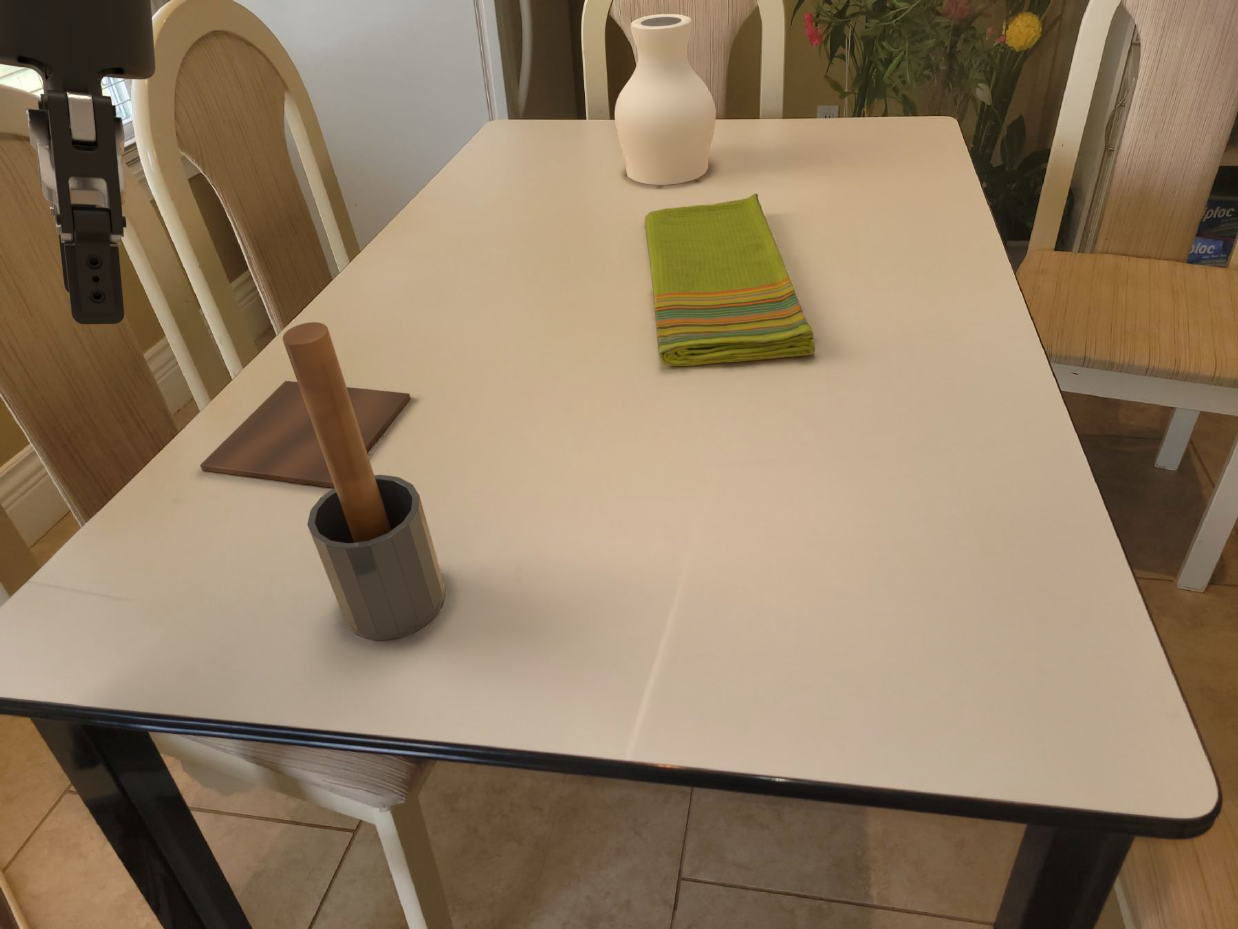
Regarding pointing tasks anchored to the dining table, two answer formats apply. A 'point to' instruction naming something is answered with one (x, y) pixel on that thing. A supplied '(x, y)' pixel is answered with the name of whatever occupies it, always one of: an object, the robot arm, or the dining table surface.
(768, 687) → the dining table surface
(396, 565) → the holder
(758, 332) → the dish towel
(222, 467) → the board
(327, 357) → the cylinder
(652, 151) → the vase
